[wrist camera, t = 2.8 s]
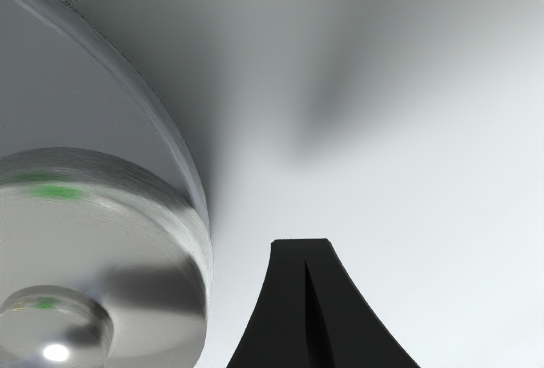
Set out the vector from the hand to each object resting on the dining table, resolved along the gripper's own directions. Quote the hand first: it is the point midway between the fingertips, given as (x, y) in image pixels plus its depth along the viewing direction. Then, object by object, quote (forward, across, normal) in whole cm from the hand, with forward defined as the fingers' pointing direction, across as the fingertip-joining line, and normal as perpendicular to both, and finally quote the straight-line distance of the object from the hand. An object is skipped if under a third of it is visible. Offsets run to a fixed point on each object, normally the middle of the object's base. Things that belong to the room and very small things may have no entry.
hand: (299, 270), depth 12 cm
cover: (+1, +5, 0) cm, 5 cm away
